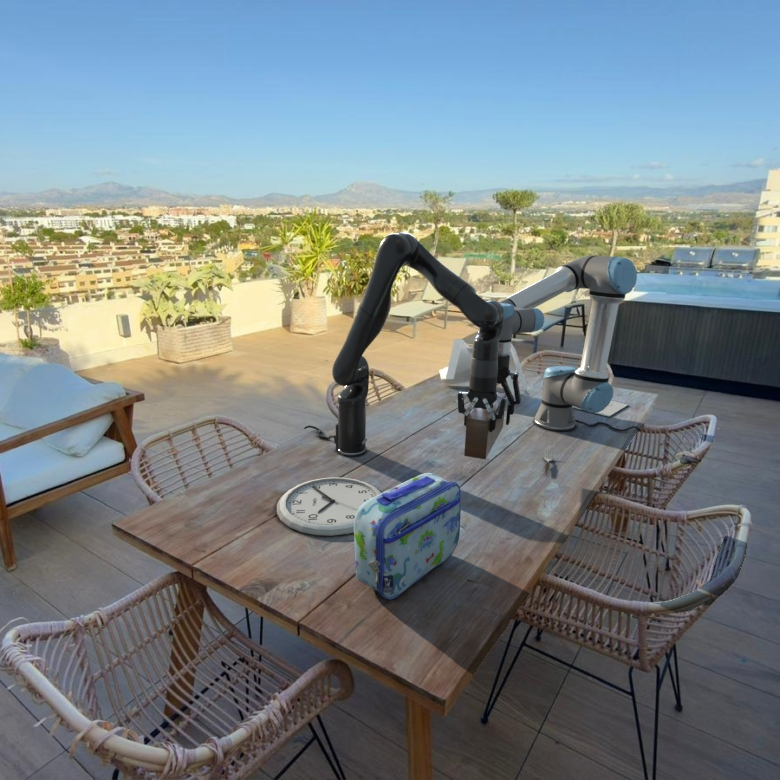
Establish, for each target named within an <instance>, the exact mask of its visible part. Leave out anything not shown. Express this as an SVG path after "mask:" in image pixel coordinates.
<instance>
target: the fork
mask: <svg viewBox="0 0 780 780" xmlns="http://www.w3.org/2000/svg"><path fill="white" fill-rule="evenodd" d="M547 450H548V449H546V451H545V455H544V461H546V463H545V468H544V469H545V474H547V473H548V471H549V469H550V462H553V460H554V452H552V451H550V450H548V451H547ZM549 451H550V452H549Z"/></svg>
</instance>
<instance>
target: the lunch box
mask: <svg viewBox="0 0 780 780" xmlns="http://www.w3.org/2000/svg"><path fill="white" fill-rule="evenodd" d="M461 503H462V502H461V487H460V485H459V483H457V482H455V481H448V480H446V479H445V478H442V477H440V476H439V475H437V474H434V473H432V472H424V473H422V474H419V475H416V476H415V477H412V478H409V479H407V480H406V481H404V482H402V483H399V484H398V485H395V486H394V487H391V488H389V489H387V490H385V491H383V492H382V493H381V494H379V495H377V496H375V497H373V498H371V499H369V500H367V501H365V502H364V503H363V504H362V505H361V506H360V508H359V509H358V511H357V513H356V515H355V519H354V532H353V546H354V547H353V548H354V571H355V572H354V573H355V576H356V579H357V580H358V581H359V582H360V583H363V584H364V585H367V586H368V587H370V588H372V589H373V590H374V591H376V592H378V594H379V595H380V596H381V597H382V598H384V599H386V600H394V599H396V598H398V597H399V596H400V595H402V594H403V593H404V592H405V591H406V590H407V589H409V588H410V587H412V586H413V585H414V584H416V583H417V582H418V581H420V580H421V579H422V578H424V577H425V576H426V575H427V574H428V573H429V572H430V571H432V570H433V569H435V568H437V567H438V566H439V565H441V564H443V563H444V562H445V561H447V560H448V559H449V558H451V556H452V555H453V554H454V552H455V550H456V549H457V546H458V543H459V539H460V531H461V510H462V509H461V508H462V507H461Z"/></svg>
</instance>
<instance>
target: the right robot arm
mask: <svg viewBox="0 0 780 780" xmlns="http://www.w3.org/2000/svg"><path fill="white" fill-rule="evenodd" d="M637 280H638V273H637V267H636V266H635V264H634V262H633V261H632V260H631V259H630V258H627V257H621V256H608V255H595V254H594V255H593V254H590V255H585V256H582V257H579V258H576V259H573V260H571V261H569V262H566V263H565V264H563V265H561V266H559V267H557V268H556V269H555V272H554V273H552V274H549V275H548V276H546V277H544V278H542V279H540V280H539V281H536V282H534V283H533V284H531V285H529V286H527V287H525V288H523V289H521V290H519V291H517V292H515V293H514V294H512V295H510V296H507V297H505V298H504V299H502V300H500V301H498V302H499V303H500V304H501V305H502V307H503V309H504V323H503V328H502V332H501V336H500V340H499V351H498V374H497V385H498V384H500V385H501V387H502V389H503V391H504V394H506V398H507V401H508V404H506V406H507V407H506V416H505V417H506V418H505V425H506V426H509V424H510V421H511V416H513V415H514V413H515V406H517V405H520V404H521V402H522V397H521V392H520V391H521V390H520V386H519V385H520V384H519V373H518V372H517V371H516V372H514V371H513V372H512V371H511V370H510V361H511V360H510V356H509V355H508V354H510V351H511V344H512V339H513V335H514V334H515V335H516V334H526V333H530V334H531V333H535V332H539V331H540V330H541V329H542V328H543V327H544V324H545V315H544V313H543V311H542V310H541V309H540V308H538V307H539V306H540V305H543V304H544V303H546V302H549V301H550V300H552V299H554V298H556V297H558V296H559V295H562V294H563V293H571V292H573V291H575V290H577V289H579V290H580V289H584V290H585V289H587V290H589V292H588V296H589V297H590V299H591V307H590V312H589V316H588V323H587V329H586V333H585V339H584V346H583V350H582V356H581V361H580V366H579V367H578V368H577V367H574V366H567V365H557V366H550V367H547V368H546V369H545V370H544V375H543V378H542V379H543V381H542V392H541V402H540V405H539V407H538V410H537V411H536V413H535V417H534V424H535V425H536V426H537V427H539V428H542V429H544V430H549V431H556V432H567V431H572V430H574V429H575V428H576V423H577V424H582V425H584V426H587V427H595V426H597V425H604V426H607V427H608V428H610V429H611V430H614V431H617V432H626V431H629V430H633V429H636V430H638V431H641V429H640V428H639V427H638V426H636V425H632V426H629V427H627V428H616V427H614V426H612V425H611V424H610V423H607V422H603V421H596V422H594V423H592V424H591V423H586V422H584V421H581V420H578V419H576V418H575V417H576V416H575V413H574V407H578V408H580V409H582V410H581V411H584V412H588V411H589V412H588V413H593V414H596V413H597V412H600V411H602V410H604V409H605V408H606V407H607V406H608V404H609V403H610V401H612V399H613V396H614V388H613V385H611V383H609V380H610V375H609V374H608V373H607V365H608V360H609V355H610V351H611V346H612V342H613V341H612V340H613V336H614V330H615V327H616V326H615V325H616V321H617V316H618V309H619V305H620V303H621V302H623V301H624V300H625V299H626V295H627V294H630V293H631V292H632V291H633V288H635V286H636V283H637ZM508 376H511V379H512V381H513V387H514V394H515V397H514V396H513V395H512V393H511V391H510V388H509V386H508V384H507V380H506V378H507V377H508ZM474 408H475V407H474ZM474 408H473V409H474ZM473 409H472V410H473ZM580 409H579V410H580Z"/></svg>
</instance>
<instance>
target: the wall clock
mask: <svg viewBox="0 0 780 780" xmlns="http://www.w3.org/2000/svg"><path fill="white" fill-rule="evenodd" d="M381 493H383V492H382V491H381V490H380V489H379V488H377V487H376V486H374V485H372V484H371V483H369V482H365V481H362V480H359V479H355V478H349V477H338V476H337V477H335V476H333V477H332V476H331V477H322V478H317V479H312V480H307V481H305V482H302V483H299V484H297V485H295V486H293V487H292V488H290V489H288V490H287V491H286V492H285V493H284V494H283V495H281V496H280V498H279V499H278V502H277V503H276V515H277V517H278V518H279V520H280V521H281V522H282V523H283V524H285V525H286V526H287V527H288V528H290V529H293V530H295V531H297V532H299V533H303V534H308V535H312V536H327V537H328V536H329V537H331V536H332V537H333V536H342V535H350V534H352V533H353V534H354V519H355V515H356V513H357V511H358V509H359V508H360V506H361V505H362V504H363V503H364V502H365V501H367V500H369V499H371V498H373V497H375V496H377V495H379V494H381Z"/></svg>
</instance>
